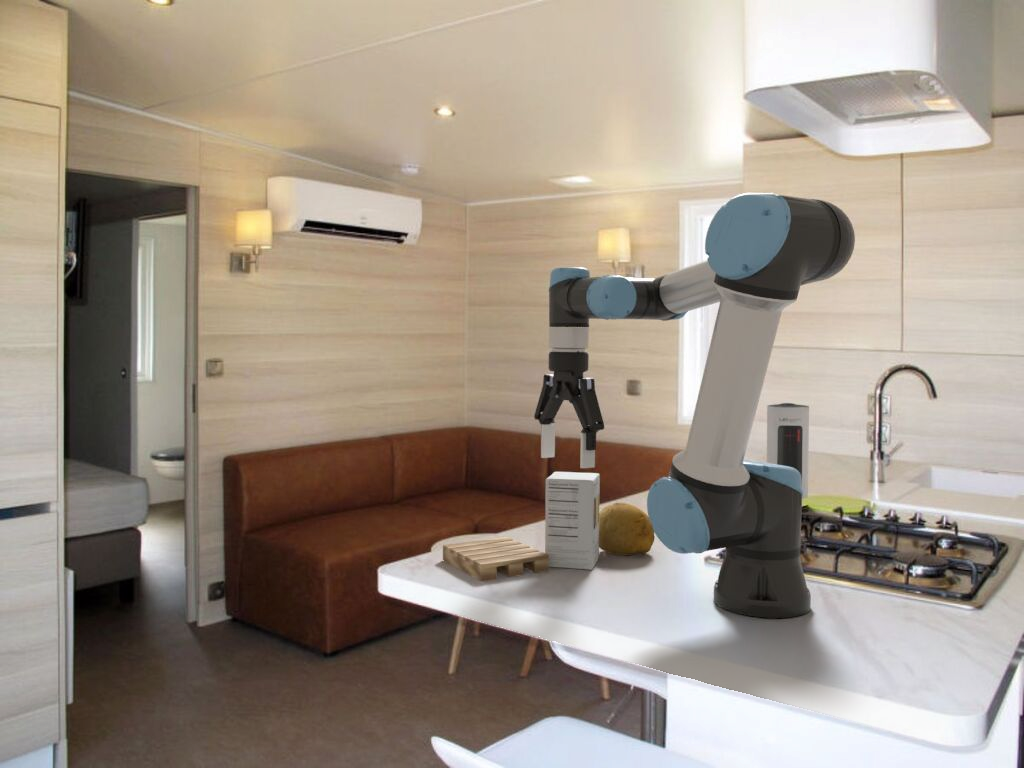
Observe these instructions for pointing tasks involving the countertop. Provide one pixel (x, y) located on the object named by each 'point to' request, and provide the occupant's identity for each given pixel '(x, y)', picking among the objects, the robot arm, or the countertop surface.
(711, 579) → the countertop surface
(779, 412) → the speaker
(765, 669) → the countertop surface
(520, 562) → the wooden pallet
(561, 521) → the supplement box
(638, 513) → the potato
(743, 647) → the countertop surface
